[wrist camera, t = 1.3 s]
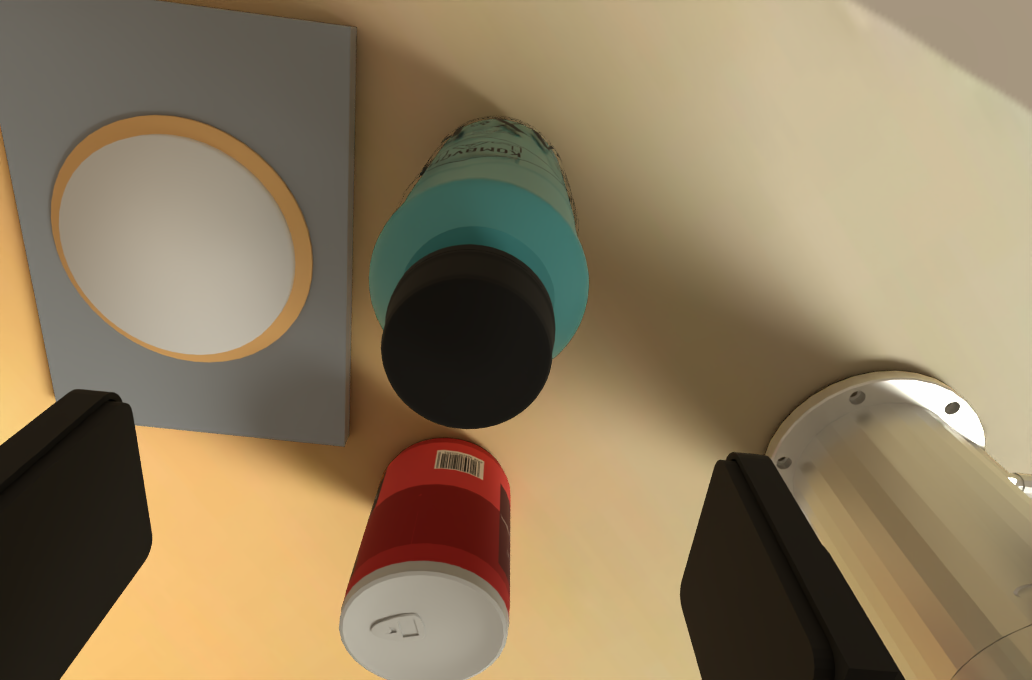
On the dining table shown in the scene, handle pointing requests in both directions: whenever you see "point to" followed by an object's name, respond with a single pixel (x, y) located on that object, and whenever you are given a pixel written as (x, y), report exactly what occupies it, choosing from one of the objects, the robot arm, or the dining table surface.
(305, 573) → the dining table surface
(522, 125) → the beverage bottle
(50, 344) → the board
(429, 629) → the canned food
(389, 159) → the dining table surface
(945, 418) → the robot arm
